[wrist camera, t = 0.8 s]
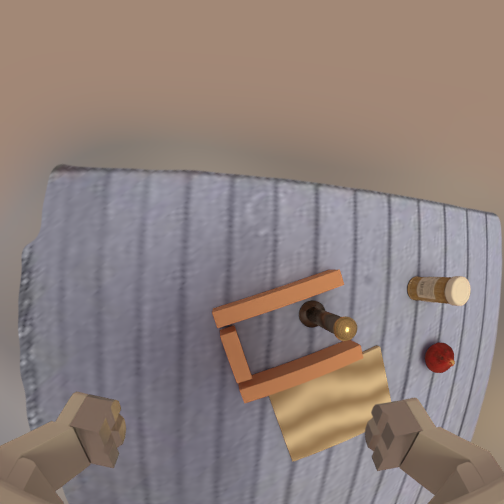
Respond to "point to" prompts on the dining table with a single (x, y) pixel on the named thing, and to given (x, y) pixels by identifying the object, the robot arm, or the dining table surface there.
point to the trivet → (331, 405)
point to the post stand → (327, 320)
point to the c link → (291, 371)
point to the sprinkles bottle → (440, 289)
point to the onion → (439, 357)
